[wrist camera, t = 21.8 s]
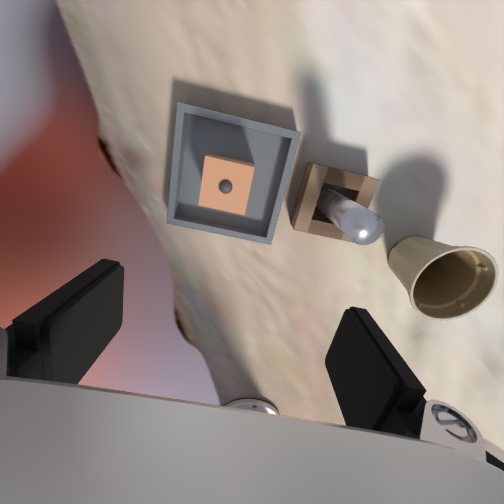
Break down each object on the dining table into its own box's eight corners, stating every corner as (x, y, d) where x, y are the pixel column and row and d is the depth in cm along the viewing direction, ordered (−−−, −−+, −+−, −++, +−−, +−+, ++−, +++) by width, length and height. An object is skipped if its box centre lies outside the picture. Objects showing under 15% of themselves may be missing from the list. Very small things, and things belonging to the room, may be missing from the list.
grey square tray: (269, 238, 35) (270, 244, 33) (172, 218, 34) (166, 223, 31) (297, 133, 30) (301, 132, 27) (183, 105, 28) (177, 101, 26)
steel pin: (334, 214, 33) (375, 248, 22) (313, 209, 33) (344, 241, 22) (342, 192, 32) (389, 216, 21) (320, 187, 32) (356, 208, 21)
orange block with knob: (246, 203, 32) (244, 215, 27) (207, 195, 32) (198, 205, 26) (254, 163, 30) (254, 167, 25) (213, 154, 30) (204, 155, 24)
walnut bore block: (345, 235, 34) (354, 242, 32) (290, 222, 34) (293, 229, 31) (368, 176, 31) (379, 179, 29) (308, 162, 31) (313, 163, 28)
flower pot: (365, 245, 35) (399, 274, 27) (432, 211, 33) (489, 231, 25) (388, 294, 38) (424, 332, 30) (450, 264, 36) (506, 298, 28)
